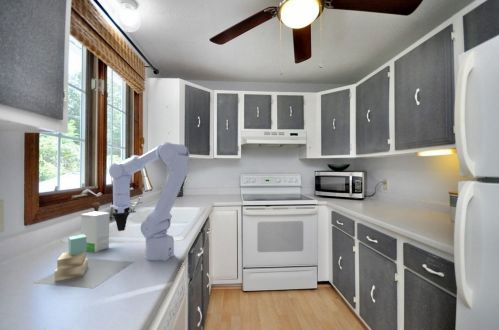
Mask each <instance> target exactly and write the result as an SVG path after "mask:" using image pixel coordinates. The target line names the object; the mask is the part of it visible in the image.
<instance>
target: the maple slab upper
mask: <svg viewBox="0 0 499 330" xmlns="http://www.w3.org/2000/svg"><path fill="white" fill-rule="evenodd" d="M86 255H87V252H85V253H80V254H76V255H72V256H71V255H70V254H69V251H67V252H62V253H61V255H60V256H59V257H58V258H57V260H56V262H57V266H56V269H57V270H60V269H66V268H72V267H77V266H82V265H83V263H84V261H85V259H86V258H87V256H86Z"/></svg>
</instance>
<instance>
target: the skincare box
mask: <svg viewBox="0 0 499 330" xmlns="http://www.w3.org/2000/svg"><path fill="white" fill-rule="evenodd" d="M110 214H111V213H110V212H106V211H105V212H104V211H99V212H96V211H95V210H94V211H89V212H85V213H81V214H80V235H82V234H84V235H85V236H86V251H87V252H92V253H94V252H95V253H97V252H99V251H102V250H105V249H106V250H107V249H109V245H110Z"/></svg>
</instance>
